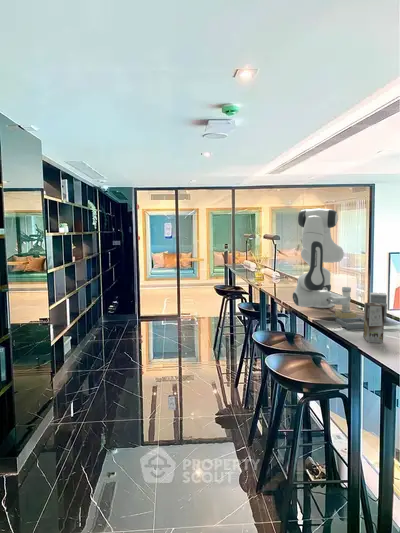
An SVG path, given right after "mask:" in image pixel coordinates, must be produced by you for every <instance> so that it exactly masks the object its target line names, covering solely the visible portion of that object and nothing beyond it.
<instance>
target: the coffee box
mask: <svg viewBox="0 0 400 533" xmlns="http://www.w3.org/2000/svg"><path fill="white" fill-rule="evenodd" d="M363 310H364V313H363V319H364V330H363V338H364V339H365V340H366V341H367V342H368V343H379V344H383V343H384V332H385V331H384V330H385V327H384V326H385V321H384V313H385V306H384V305H382V304H380V303H370V302H364V309H363Z"/></svg>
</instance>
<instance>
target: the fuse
mask: <svg viewBox="0 0 400 533" xmlns="http://www.w3.org/2000/svg"><path fill="white" fill-rule="evenodd" d="M341 291H342V292H341V293H342V294H341V295H342V296H344V297H351V292H352V287H350V286H342V288H341ZM340 310H341V312H342V313H350V311H351V300H349V301H348V304H347V305H341V309H340Z"/></svg>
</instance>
